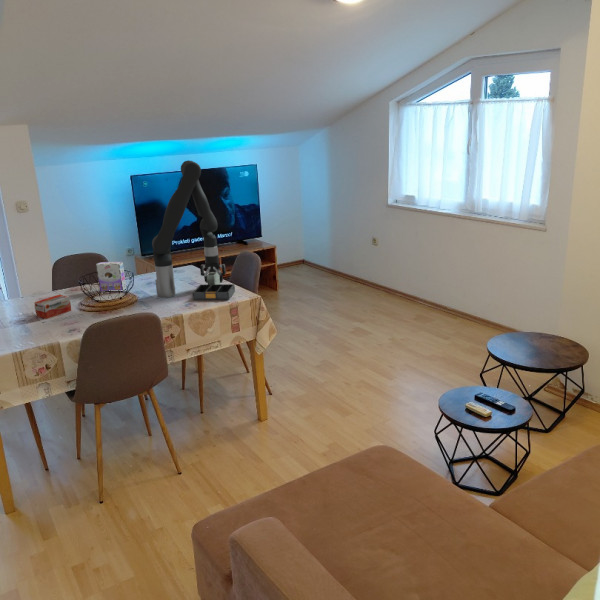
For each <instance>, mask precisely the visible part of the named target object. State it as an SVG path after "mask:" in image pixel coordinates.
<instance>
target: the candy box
mask: <svg viewBox="0 0 600 600" xmlns="http://www.w3.org/2000/svg"><path fill="white" fill-rule="evenodd" d="M95 269H96V274H97V281H98V287H99V292H100V291H109V290H124V291H126V290H127V283H126V282H127V281H126V277H125V270H124V269H125V268H124V263H123V261H102V262H98V263H96V264H95ZM125 289H126V290H125Z"/></svg>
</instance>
